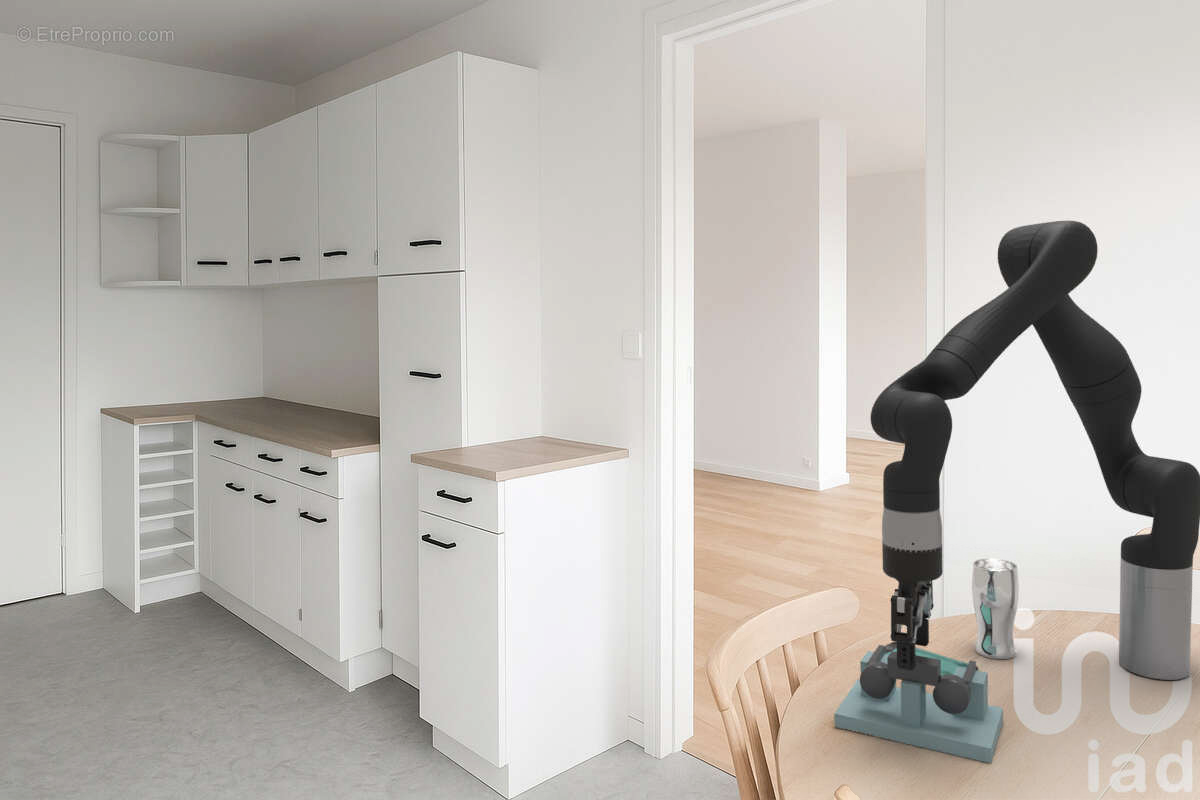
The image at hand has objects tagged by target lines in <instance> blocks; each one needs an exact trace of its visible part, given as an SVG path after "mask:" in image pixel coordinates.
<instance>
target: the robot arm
mask: <svg viewBox="0 0 1200 800" xmlns="http://www.w3.org/2000/svg"><path fill="white" fill-rule="evenodd" d="M1098 252H1099V251H1098V242H1097V238H1096V235H1095V233H1094V232H1093V231H1092V230H1091V228H1090V227H1089V226H1088V225H1087V224H1085V223H1083V222H1080V221H1076V220H1057V221H1048V222H1040V223H1034V224H1027V225H1021V226H1018V227H1014V228H1012V229H1010V230H1008V231H1007V232H1006V233H1005V234H1004V235H1003V236H1002V238H1001V240H1000V241H999V243H998V248H997V264H998V267H999V271H1000V274H1001V276H1002V279H1003V281H1004V282H1005V284H1006V285H1007V289H1006V290H1004V291H1003V292H1001V294H999V295H997V296H996V297H995V298H993V299H991V300H990V301H988V302H987V303H986V304H984V305H982V306H981V307H979V308H977V309H976V310H974V311H972V312H971V313H969V314H968V315H967V316H965V317H964V318H962V319H960V321H958V323H957V324H955V325H954V326H953V327H952V328H950V329H949V331H948V332H947V333H946V334H945V335H944V336H943V338H941V340H940V341H939V342H938V343H937V345H935V346H934V347H933V349H932V350H931V351H930V352H929V353H928V355H927V356H926V357H925V358H924V360H922V361H921V362H919V363H918V364H917V365H915V366H913V367H912V368H911V369H909V370H908V371H907V372H905V373H903V374H902V375H901V376H899V377H898V378H897V379H896V380H894V381H893V382H892V383H890V384H889V385H888V386H887V387H886V388H885V389H883V390H882V392H880V394H879V395H878V396H877V398H876V400H875V401H874V403H873V406H872V408H871V412H870V417H869V418H870V424H871V428H872V430H873V431H874V433H875V434H876V435H877V436H878V437H879V438H881V439H883V440H885V441H889V442H892V443H898V444H903V445H904V449H903V454H902V457H901V460H897V461H892V462H891V463H889V464H887V465H886V466H885V468H884V470H883V475H882V477H883V479H882V480H883V482H882V484H883V485H882V489H883V490H882V491H883V492H882V494H883V496H882V497H883V499H882V500H883V510H882V511H883V512H882V517H881V518H882V519H881V533H882V534H881V537H882V538H881V539H882V541H881V542H882V543H881V544H882V545H881V546H882V549H881V550H882V570H883V573H884V574H885V576H888V577H889V578H892V579H894V580H896V581H897V582H898V584H897V585H898V587H897V588H895V589H894V593H893V594H892V595H891V597H890V640H891V642H897V666H898V667H899V668H901V669H906V670H914V668H915V667H916V651H915V647H916V646H921V647H927V646H928V645H929V643H930V624H929V623H930V622H929V621H930V619H931V616H932V611H933V608H934V605H935V604H934V591H933V590H934V589H933V581H936V580H937V579H939V578H940V577H941V576H942V575H943V572H944V571H943V570H944V569H943V522H942V516H941V498H940V497H941V493H940V492H941V491H940V490H941V489H940V486H941V485H940V476H941V473H942V470H943V467H944V465H945V460H946V455H947V452H948V449H949V445H950V442H951V437H952V431H953V419H952V414H951V410H950V408H949V406H948V404H947V402H946V401H948V400H955V399H956V400H957V399H959V398H962V397H964V396H966V394H968V393H969V392H970V391H971V390H972V389H973V387H974V386H976V385H977V384H978V382H979V380H980V379H981V378H982V377H983V376H984V375H985V373H987V371H988V370H989V369H990V367H992V365H993V364H994V363H995V362H996V361H997V360H998V358H999V357H1000V356H1001V355H1002V353H1004V352H1005V350H1006V349H1007V348H1008V347H1010V346H1011V345H1012V343H1013V342H1015V340H1017V339H1018V338H1019V337H1020V336H1021V335H1022V334H1023V333H1024V332H1025V331H1026V330H1028V328H1030V327H1031V326H1033V328H1034V330H1035V331H1036V333H1037V335H1038V337H1039V339H1040V341H1041V343H1042V345H1043V347H1044V348H1045V351H1046V352H1047V354H1048V356H1049V358H1050V360H1051V362H1052V363H1053V365H1054V368H1055V370H1056V372H1057V375H1058V377H1059V379H1060V382H1061V383H1062V386H1063V388H1064V390H1065V391H1066V393H1067V395H1068V397H1069V400H1070V402H1071V403H1072V405H1073V407H1074V408H1075V409H1074V410H1076V413H1077V414H1078V416H1079V418H1080V421H1081V423H1082V426H1083V428H1084V430H1085V432H1086V434H1087V437H1088V440H1089V441H1090V443H1091V446H1092V448H1093V451H1094V454H1095V456H1096V459H1097V463H1098V465H1099V469H1100V471H1101V475H1102V478H1103V479H1104V483H1105V486H1106V489H1107V491H1108V494H1109V495H1110V497H1111V499H1112V501H1113V502H1114V503H1115V505H1116V506H1118V507H1119V508H1120V509H1121V510H1123V511H1126V512H1129V513H1132V514H1136V515H1140V516H1144V517H1149V518H1152V523H1151V525H1152V526H1151V530H1150V532H1149V533H1145V534H1144V533H1143V534H1136V535H1131V536H1127V537H1125V538H1124V539H1122V541H1121V544H1120V562H1119V563H1120V564H1119V565H1120V569H1119V570H1120V571H1119V572H1120V573H1119V575H1120V578H1119V579H1120V581H1119V582H1120V583H1119V584H1120V585H1119V627H1118V628H1119V631H1118V636H1119V637H1118V664H1119V666H1120V667H1122V668H1123V669H1125V670H1127V671H1128V672H1131V673H1133V674H1135V675H1139V676H1141V677H1146V678H1150V679H1156V680H1163V681H1164V680H1167V681H1168V680H1169V681H1172V680H1174V681H1175V680H1176V681H1178V680H1182V679H1185V678H1188V677H1189V676H1190V672H1191V671H1190V670H1191V669H1190V668H1191V641H1192V639H1191V638H1192V634H1191V633H1192V608H1193V607H1192V606H1193V573H1194V572H1193V569H1194V568H1193V566H1194V555H1195V552H1196V549H1197V545H1198V542H1199V537H1200V535H1199V533H1200V472H1199V471H1198V469H1197V467H1195V466H1194V465H1193V464H1192V463H1189V462H1186V461H1183V460H1177V459H1171V458H1165V457H1158V456H1150V455H1147V454H1146V453H1144V451H1142V449H1141V448H1140V446H1139V443H1138V442H1137V440H1136V437H1135V434H1134V431H1133V428H1132V425H1133V421H1134V418H1135V416H1136V413H1137V412H1138V408H1139V406H1140V401H1141V397H1142V384H1141V380H1140V378H1139V375H1138V372H1137V370H1136V368H1135V366H1134V364H1133V362H1132V360H1131V358H1130V357H1131V356H1129V353H1128V351H1127V350H1126V348H1125V346H1124V345H1123V344H1122V342H1121V341H1120V340H1119V339H1118V338H1117V337H1116V336H1115V335H1114V334H1113V333H1111V331H1109V330H1108V329H1107V328H1105V327H1104V326H1103V325H1101V324H1100V323H1099V322H1098V321H1097V320H1096V319H1094V318H1093V317H1091V316H1090V315H1089V314H1088V313H1086V312H1085V311H1084V310H1083V309H1082V308H1080V307H1079V305H1077V303H1075V302H1074V300H1073V299H1072V297H1071V296H1070V293H1071V292H1073V291H1074V290H1075V289H1076V288H1077V287H1078V286H1080V285H1081V284H1082V283H1083V282H1084V281H1085V280H1086V279H1087V278H1088V276H1089V275H1090V273H1091V272H1092V271H1093V269H1094V267H1095V265H1096V261H1097V259H1098ZM902 626H905V627H906V632H903V631H902Z"/></svg>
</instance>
